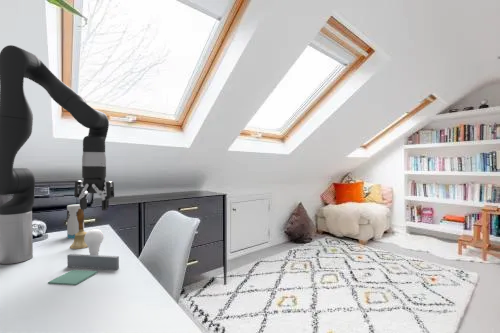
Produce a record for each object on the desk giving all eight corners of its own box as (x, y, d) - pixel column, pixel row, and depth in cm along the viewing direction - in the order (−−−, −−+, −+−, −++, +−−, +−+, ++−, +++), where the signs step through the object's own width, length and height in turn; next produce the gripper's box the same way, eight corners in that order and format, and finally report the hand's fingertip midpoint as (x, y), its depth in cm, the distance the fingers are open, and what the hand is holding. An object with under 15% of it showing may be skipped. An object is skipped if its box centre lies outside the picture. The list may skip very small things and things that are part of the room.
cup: (87, 234, 132) (87, 204, 131) (77, 238, 125) (76, 206, 125) (74, 234, 132) (74, 204, 132) (63, 238, 126) (63, 206, 125)
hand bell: (76, 250, 108) (75, 210, 108) (65, 247, 112) (65, 209, 112) (96, 244, 115) (96, 207, 115) (86, 242, 119) (86, 206, 119)
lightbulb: (95, 263, 94) (94, 231, 94) (80, 262, 95) (79, 231, 95) (107, 257, 100) (107, 227, 100) (93, 256, 101) (93, 227, 101)
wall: (67, 266, 91) (67, 255, 91) (70, 265, 92) (70, 253, 92) (116, 269, 88) (116, 257, 88) (118, 268, 89) (118, 256, 89)
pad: (48, 283, 78) (48, 282, 78) (72, 271, 87) (72, 269, 87) (75, 285, 77) (75, 283, 77) (97, 272, 86) (97, 271, 86)
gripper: (68, 164, 94) (68, 210, 95) (104, 165, 92) (104, 212, 92) (84, 164, 102) (84, 207, 102) (118, 165, 100) (118, 208, 100)
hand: (94, 209), depth 97 cm, fingers open, 8 cm apart
